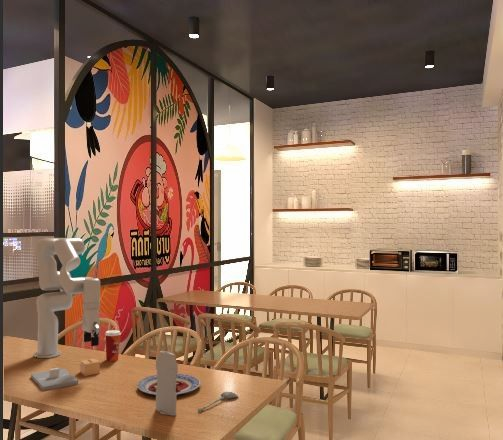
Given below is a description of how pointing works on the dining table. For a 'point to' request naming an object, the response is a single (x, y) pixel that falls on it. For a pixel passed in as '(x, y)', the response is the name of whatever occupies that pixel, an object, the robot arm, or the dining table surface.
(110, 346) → the paper cup
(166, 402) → the tall pale column
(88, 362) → the tan slotted block
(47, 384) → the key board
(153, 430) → the dining table surface
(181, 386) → the ceramic plate
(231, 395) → the soupspoon
